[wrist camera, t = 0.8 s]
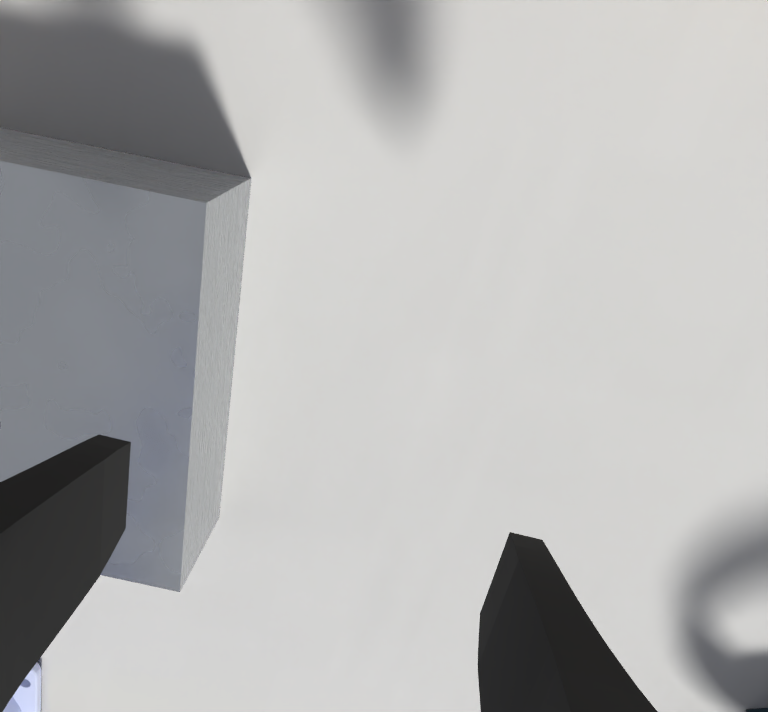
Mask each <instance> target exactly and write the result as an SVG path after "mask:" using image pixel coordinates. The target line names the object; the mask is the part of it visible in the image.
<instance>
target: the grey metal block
mask: <svg viewBox="0 0 768 712" xmlns="http://www.w3.org/2000/svg"><path fill="white" fill-rule="evenodd" d="M250 186H251V178H248V177H243V176H238V175H233V174H228V173H223V172H218V171H214V170H209V169H204V168H199V167H194V166H189V165H184V164H179V163H174V162H169V161H164V160H159V159H154V158H149V157H144V156H139V155H134V154H130V153H125V152H120V151H115V150H110V149H105V148H100V147H95V146H90V145H85V144H80V143H75V142H70V141H65V140H60V139H55V138H51V137H46V136H41V135H36V134H31V133H26V132H21V131H16V130H11V129H6V128H1V127H0V482H2V481H4V480H6V479H8V478H10V477H12V476H14V475H16V474H18V473H20V472H23V471H25V470H27V469H29V468H31V467H33V466H35V465H37V464H39V463H41V462H43V461H45V460H47V459H49V458H51V457H53V456H55V455H57V454H59V453H61V452H63V451H65V450H67V449H69V448H71V447H73V446H75V445H77V444H79V443H81V442H84V441H86V440H88V439H90V438H92V437H94V436H97V435H99V434H100V435H104V436H108V437H112V438H116V439H121V440H125V441H129V442H131V449H130V465H129V481H128V498H127V514H126V529H125V531H124V533H123V535H122V536H121V538H120V540H119V542H118V544H117V546H116V548H115V549H114V551H113V553H112V555H111V557H110V559H109V560H108V562H107V564H106V566H105V567H104V569H103V571H102V573H101V574H100V575H104V576H108V577H113V578H117V579H122V580H127V581H131V582H136V583H141V584H145V585H150V586H154V587H159V588H164V589H168V590H173V591H178V592H180V591H181V589H182V587H183V585H184V583H185V581H186V579H187V577H188V576H189V574H190V572H191V570H192V568H193V566H194V564H195V562H196V560H197V558H198V557H199V555H200V553H201V551H202V549H203V547H204V545H205V543H206V541H207V539H208V538H209V536H210V534H211V532H212V530H213V528H214V526H215V524H216V522H217V521H218V519H219V513H220V502H221V492H222V481H223V471H224V460H225V450H226V439H227V429H228V418H229V408H230V397H231V387H232V376H233V365H234V355H235V344H236V334H237V323H238V313H239V302H240V292H241V281H242V271H243V260H244V249H245V239H246V228H247V218H248V207H249V197H250Z"/></svg>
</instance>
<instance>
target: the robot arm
mask: <svg viewBox="0 0 768 712" xmlns="http://www.w3.org/2000/svg"><path fill="white" fill-rule="evenodd" d="M130 449H131V442H129V441H125V440H121V439H116V438H112V437H108V436H104V435H100V434H99V435H97V436H94V437H92V438H90V439H88V440H86V441H84V442H81V443H79V444H77V445H75V446H73V447H71V448H69V449H67V450H65V451H63V452H61V453H59V454H57V455H55V456H53V457H51V458H49V459H47V460H45V461H43V462H41V463H39V464H37V465H35V466H33V467H31V468H29V469H27V470H25V471H23V472H20V473H18V474H16V475H14V476H12V477H10V478H8V479H6V480H4V481H2V482H0V712H41V667H40V665H39V664H38V663H37V661H38V660H39V659H40V657H41V656H42V654H43V653H44V652H45V650H46V649H47V648H48V646H49V645H50V644H51V642H52V641H53V639H54V638H55V637H56V635H57V634H58V633H59V631H60V630H61V629H62V627H63V626H64V625H65V623H66V622H67V620H68V619H69V618H70V616H71V615H72V614H73V612H74V611H75V610H76V608H77V607H78V605H79V604H80V603H81V601H82V600H83V598H84V597H85V596H86V594H87V593H88V592H89V590H90V589H91V587H92V586H93V585H94V583H95V582H96V580H97V579H98V577H99V576H100V574H101V573H102V571H103V569H104V567H105V566H106V564H107V562H108V560H109V559H110V557H111V555H112V553H113V551H114V549H115V548H116V546H117V544H118V542H119V540H120V538H121V536H122V535H123V533H124V531H125V529H126V514H127V498H128V481H129V465H130ZM478 677H479V691H480V705H481V712H657V711H656V709H655V708H654V707H653V706H652V705H651V703H650V702H649V701H648V700H647V698H646V697H645V696H644V695H643V693H642V692H641V691H640V690H639V688H638V687H637V686H636V684H635V683H634V682H633V680H632V679H631V678H630V676H629V675H628V674H627V672H626V671H625V669H624V668H623V667H622V665H621V664H620V662H619V661H618V660H617V658H616V657H615V656H614V654H613V653H612V651H611V650H610V649H609V647H608V646H607V644H606V643H605V641H604V640H603V638H602V637H601V635H600V634H599V632H598V631H597V629H596V628H595V626H594V625H593V623H592V621H591V620H590V618H589V617H588V615H587V614H586V612H585V611H584V609H583V607H582V606H581V604H580V602H579V601H578V599H577V598H576V596H575V594H574V593H573V591H572V589H571V588H570V586H569V584H568V583H567V581H566V579H565V577H564V576H563V574H562V572H561V571H560V569H559V567H558V566H557V564H556V562H555V560H554V559H553V557H552V555H551V554H550V552H549V550H548V549H547V547H546V545H545V544H544V542H543V540H540V539H536V538H532V537H528V536H523V535H519V534H515V533H511V532H510V534H509V536H508V539H507V542H506V544H505V547H504V550H503V553H502V555H501V558H500V561H499V564H498V566H497V569H496V572H495V574H494V577H493V580H492V583H491V585H490V588H489V591H488V594H487V596H486V599H485V602H484V605H483V607H482V610H481V613H480V627H479V647H478Z"/></svg>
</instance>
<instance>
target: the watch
mask: <svg viewBox="0 0 768 712" xmlns="http://www.w3.org/2000/svg"><path fill="white" fill-rule="evenodd" d="M746 712H768V708H762V709H750V710H746Z"/></svg>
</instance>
